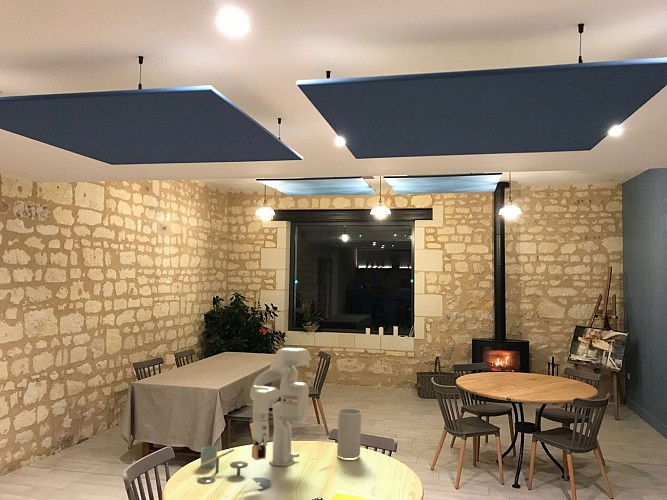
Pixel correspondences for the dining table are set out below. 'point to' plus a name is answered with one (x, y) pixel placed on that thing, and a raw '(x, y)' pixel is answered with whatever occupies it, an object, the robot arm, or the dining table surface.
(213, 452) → the cup
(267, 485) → the dish
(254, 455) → the block
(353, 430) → the cylinder vase
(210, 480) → the balance
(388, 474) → the dining table surface
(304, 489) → the dining table surface
